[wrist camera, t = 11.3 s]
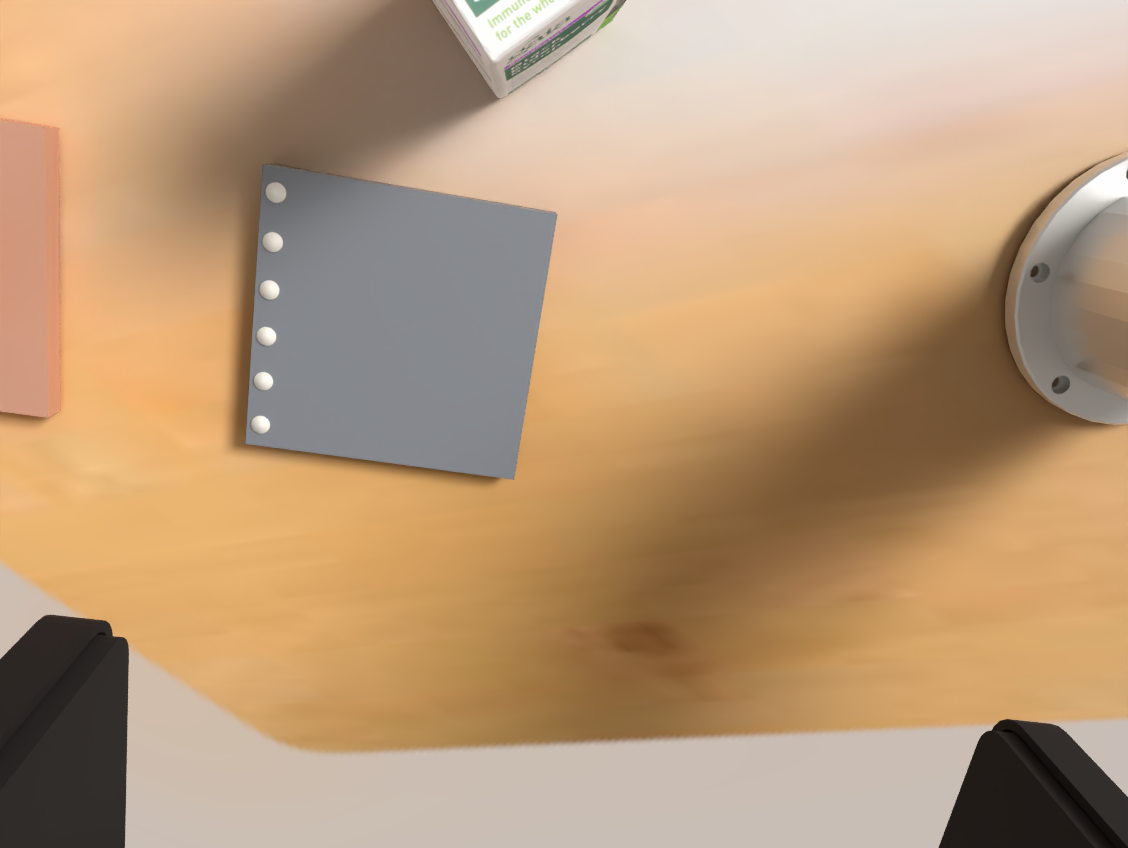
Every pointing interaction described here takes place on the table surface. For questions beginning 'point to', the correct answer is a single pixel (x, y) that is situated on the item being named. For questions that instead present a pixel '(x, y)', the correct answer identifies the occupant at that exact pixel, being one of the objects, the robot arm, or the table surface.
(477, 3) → the syrup box
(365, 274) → the grey dotted square slab
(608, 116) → the table surface
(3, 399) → the pink slab with block
